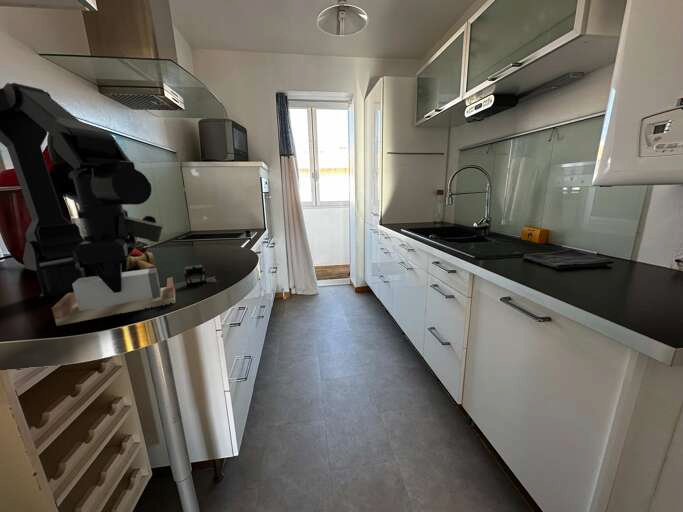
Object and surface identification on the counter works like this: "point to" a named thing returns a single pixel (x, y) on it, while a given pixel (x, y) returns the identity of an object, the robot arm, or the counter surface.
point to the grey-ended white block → (133, 289)
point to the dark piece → (194, 282)
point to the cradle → (70, 313)
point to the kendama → (140, 260)
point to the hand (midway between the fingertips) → (120, 287)
